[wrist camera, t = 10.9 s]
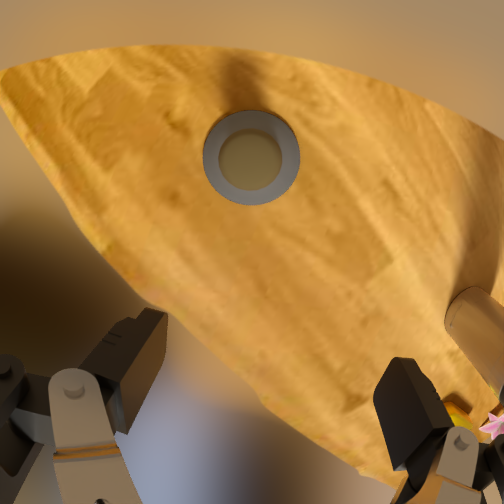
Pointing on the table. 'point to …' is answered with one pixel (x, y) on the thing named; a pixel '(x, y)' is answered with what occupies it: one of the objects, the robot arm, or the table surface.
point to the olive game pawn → (250, 159)
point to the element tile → (458, 415)
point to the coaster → (271, 127)
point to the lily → (494, 426)
